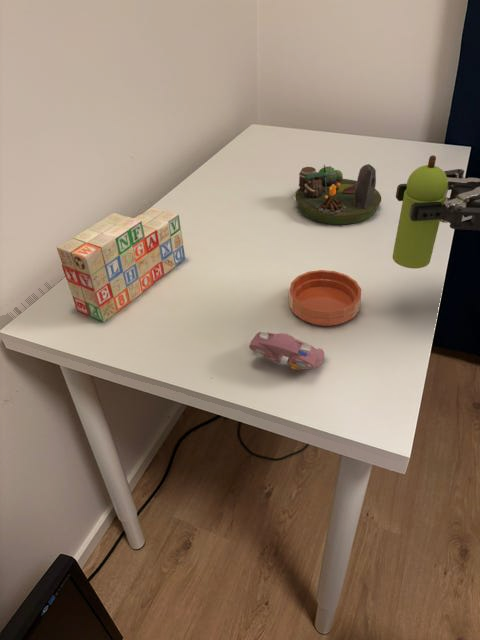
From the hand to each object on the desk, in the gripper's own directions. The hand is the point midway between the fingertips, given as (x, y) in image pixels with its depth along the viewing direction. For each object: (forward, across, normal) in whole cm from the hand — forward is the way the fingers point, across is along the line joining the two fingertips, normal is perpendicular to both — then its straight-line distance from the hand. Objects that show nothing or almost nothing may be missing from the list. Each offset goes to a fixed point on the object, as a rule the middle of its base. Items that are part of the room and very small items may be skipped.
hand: (404, 202), depth 64 cm
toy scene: (0, -37, +19) cm, 41 cm away
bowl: (+9, -2, +19) cm, 21 cm away
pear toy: (-3, 0, +9) cm, 9 cm away
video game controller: (+17, +10, +19) cm, 27 cm away
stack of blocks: (+40, -12, +19) cm, 46 cm away
